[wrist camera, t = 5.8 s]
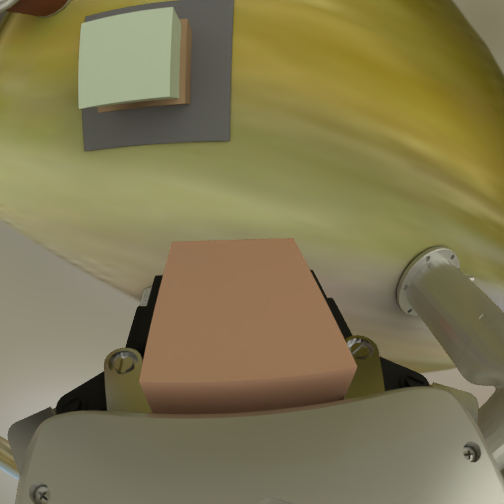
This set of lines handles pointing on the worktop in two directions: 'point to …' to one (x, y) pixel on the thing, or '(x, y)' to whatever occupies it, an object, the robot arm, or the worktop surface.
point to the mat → (202, 86)
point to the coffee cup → (34, 6)
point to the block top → (129, 58)
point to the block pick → (242, 332)
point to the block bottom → (183, 77)
